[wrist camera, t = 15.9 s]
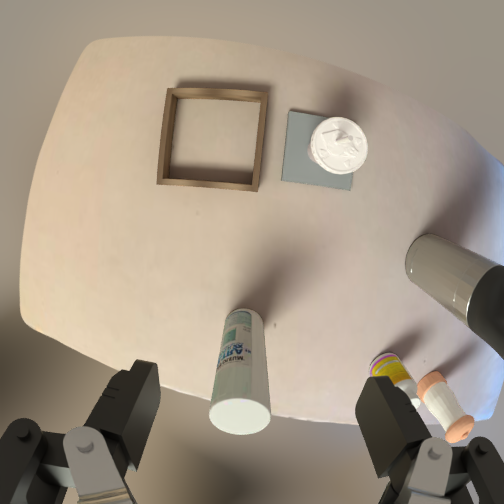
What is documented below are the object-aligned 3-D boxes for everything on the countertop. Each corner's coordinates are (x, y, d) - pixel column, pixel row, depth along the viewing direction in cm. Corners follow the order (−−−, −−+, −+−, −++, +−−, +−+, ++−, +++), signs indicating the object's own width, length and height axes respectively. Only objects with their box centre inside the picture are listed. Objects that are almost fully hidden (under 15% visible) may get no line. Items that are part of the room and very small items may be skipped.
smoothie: (309, 120, 35) (339, 95, 22) (349, 143, 36) (395, 131, 22) (289, 160, 37) (310, 153, 23) (330, 181, 38) (369, 187, 24)
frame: (266, 98, 35) (268, 92, 32) (257, 190, 39) (257, 192, 36) (173, 93, 35) (167, 88, 32) (163, 183, 38) (156, 184, 36)
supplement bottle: (362, 367, 48) (385, 412, 35) (389, 345, 46) (418, 387, 34) (376, 382, 49) (399, 425, 37) (402, 362, 48) (429, 402, 35)
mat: (354, 125, 36) (357, 124, 35) (348, 190, 39) (350, 190, 38) (288, 112, 36) (289, 111, 35) (281, 180, 38) (281, 180, 38)
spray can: (242, 347, 46) (237, 441, 27) (215, 322, 45) (195, 413, 25) (272, 326, 45) (283, 419, 25) (246, 299, 43) (242, 388, 24)
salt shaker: (426, 370, 49) (467, 427, 30) (445, 371, 49) (485, 422, 31) (410, 394, 51) (444, 452, 32) (430, 394, 51) (464, 446, 33)
